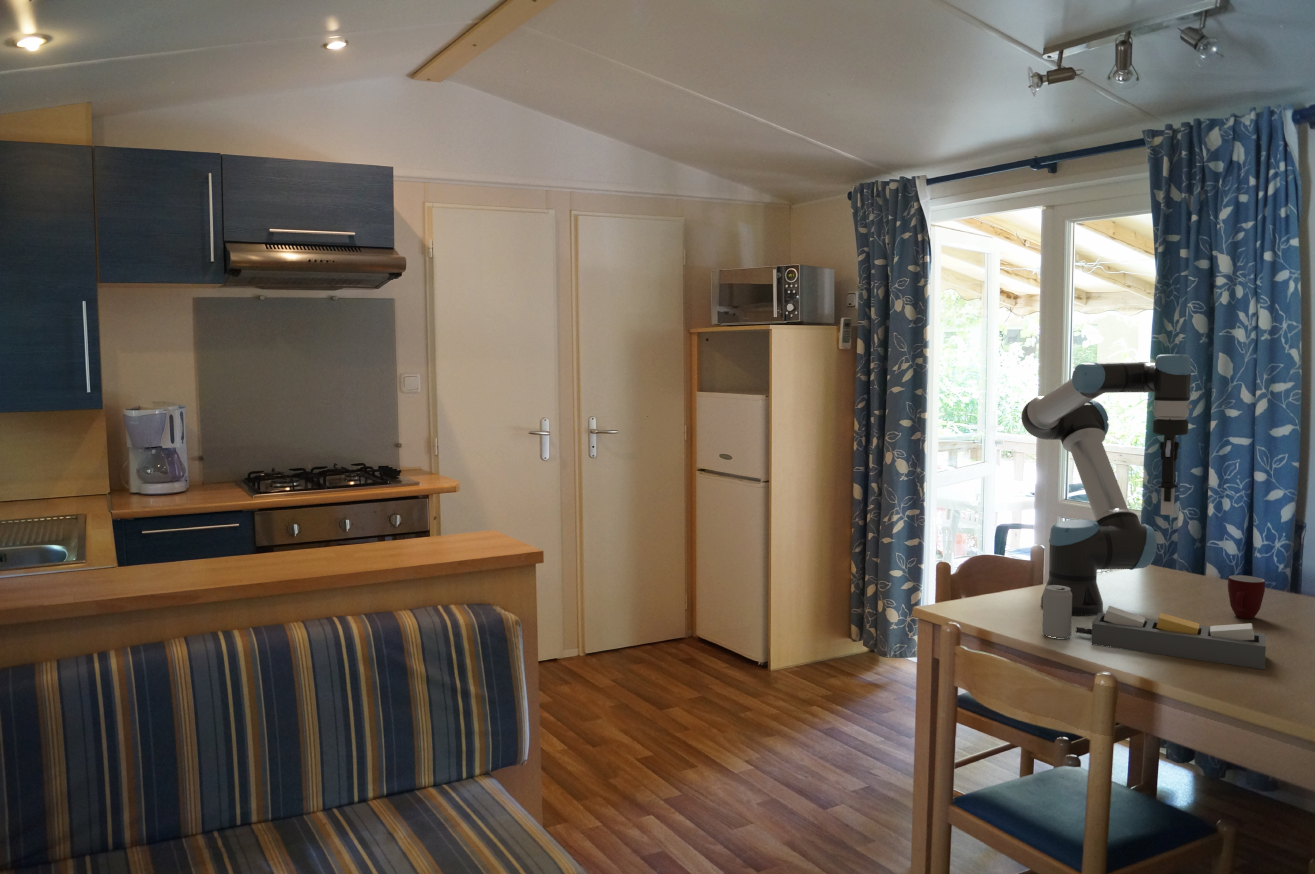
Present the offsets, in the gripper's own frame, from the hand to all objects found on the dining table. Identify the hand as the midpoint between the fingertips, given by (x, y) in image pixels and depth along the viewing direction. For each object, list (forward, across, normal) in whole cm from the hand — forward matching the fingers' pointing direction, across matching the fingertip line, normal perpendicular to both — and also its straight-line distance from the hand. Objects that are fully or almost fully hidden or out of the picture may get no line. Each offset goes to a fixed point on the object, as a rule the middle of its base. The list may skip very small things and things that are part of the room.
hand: (1167, 514), depth 229 cm
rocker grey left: (+24, -18, +7) cm, 31 cm away
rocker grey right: (+24, -18, -15) cm, 33 cm away
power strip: (+28, -18, -2) cm, 34 cm away
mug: (+29, +21, -17) cm, 39 cm away
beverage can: (+29, -21, +21) cm, 41 cm away
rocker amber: (+24, -18, -4) cm, 30 cm away
